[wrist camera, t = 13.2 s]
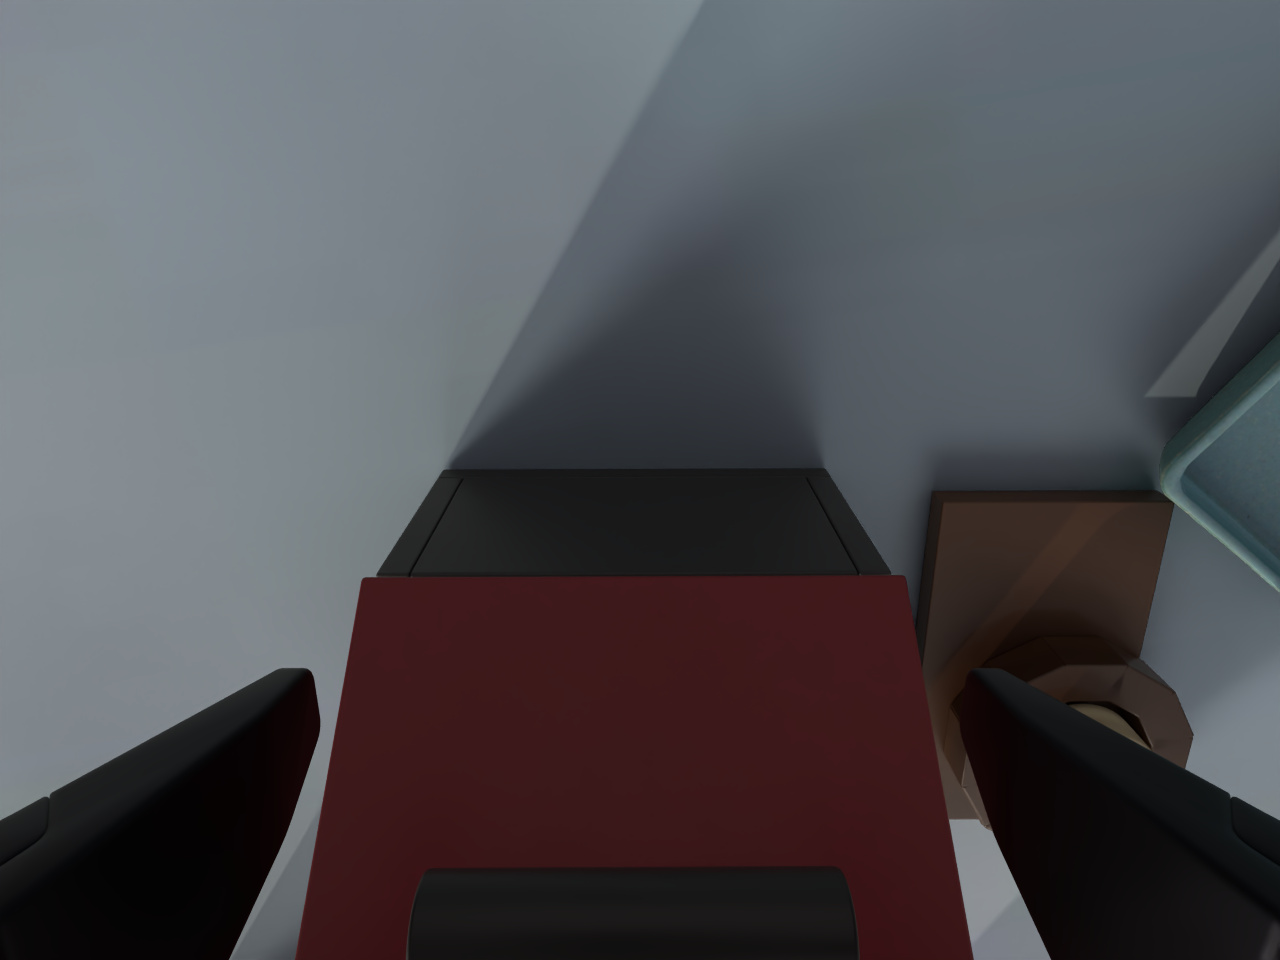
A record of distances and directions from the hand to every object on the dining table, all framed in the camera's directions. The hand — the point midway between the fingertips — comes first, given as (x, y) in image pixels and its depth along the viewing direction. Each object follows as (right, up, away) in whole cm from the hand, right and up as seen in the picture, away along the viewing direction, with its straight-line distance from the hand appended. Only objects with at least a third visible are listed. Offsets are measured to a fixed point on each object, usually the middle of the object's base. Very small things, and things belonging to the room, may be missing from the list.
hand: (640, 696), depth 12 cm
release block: (+12, -2, +15) cm, 19 cm away
